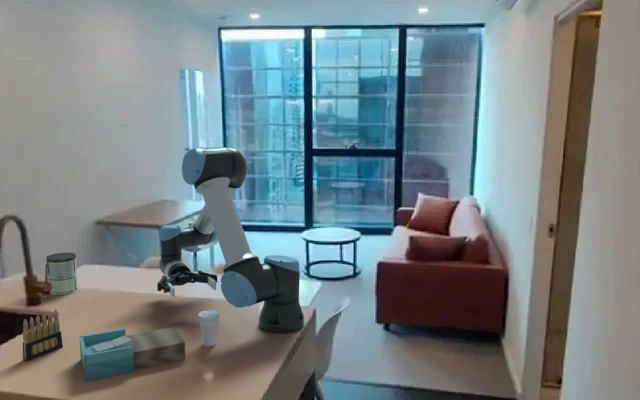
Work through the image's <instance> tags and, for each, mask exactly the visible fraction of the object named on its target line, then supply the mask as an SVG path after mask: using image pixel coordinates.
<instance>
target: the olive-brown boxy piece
mask: <svg viewBox="0 0 640 400" xmlns="http://www.w3.org/2000/svg"><path fill="white" fill-rule="evenodd" d="M126 337H128V338H130V339H132V341H133V356H134V371H135V370H139V369H144V368H149V367H153V366H159V365H162V364H168V363H172V362H177V361H181V360H186V342H185V340H184V339H183V337H182V336H181V335H180V332H178V330H177V328H176V327H175V326H172V327H167V328H161V329H155V330H151V331H145V332H140V333H135V334H129V335H126Z"/></svg>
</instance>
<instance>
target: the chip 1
mask: <svg viewBox="0 0 640 400" xmlns="http://www.w3.org/2000/svg"><path fill="white" fill-rule="evenodd" d="M113 349H116V347H115V346H114V345H113V344H111V343H110V342H108V341H106V342H103V343H100V344H97V345H94V346H91V351H92V353H97V352H102V351H107V350H113Z"/></svg>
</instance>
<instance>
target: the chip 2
mask: <svg viewBox="0 0 640 400" xmlns="http://www.w3.org/2000/svg"><path fill="white" fill-rule="evenodd" d="M126 336H127V335H126ZM126 336H125V335H124V336H122V337H119V338H117V339H114V340H112V341H109V342H110V343H111V344H113V345H114V346H115V347H116V349H118V348H123V347H128V346H133V341H132V339H130V338H128V337H126Z"/></svg>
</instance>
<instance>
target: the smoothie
mask: <svg viewBox="0 0 640 400" xmlns="http://www.w3.org/2000/svg"><path fill="white" fill-rule="evenodd" d="M212 306H213V305H212V299H209V309H207V310H203V311H200V312H199V313H198V314H197V318H198V319H199V326H200V333H201V339H202V344H203V345H202V346H204V347H206V348H207V347H208V348H209V347H210V348H211V347H213V346H215V345H216V344H217V334H218V325H219V318H220V311H218V310H215V309H212Z"/></svg>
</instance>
